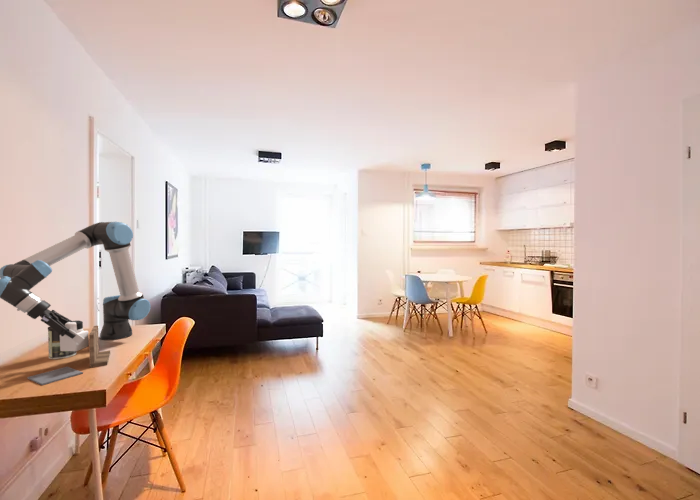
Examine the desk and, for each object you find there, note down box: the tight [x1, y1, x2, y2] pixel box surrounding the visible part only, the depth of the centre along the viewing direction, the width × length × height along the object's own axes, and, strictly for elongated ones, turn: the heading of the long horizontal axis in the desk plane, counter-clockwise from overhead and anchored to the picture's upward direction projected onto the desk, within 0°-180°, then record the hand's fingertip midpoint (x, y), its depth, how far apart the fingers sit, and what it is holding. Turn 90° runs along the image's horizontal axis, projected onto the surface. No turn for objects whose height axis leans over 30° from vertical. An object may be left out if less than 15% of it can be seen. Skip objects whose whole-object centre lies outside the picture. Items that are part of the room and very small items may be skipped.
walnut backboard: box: [88, 325, 111, 368], centre depth 155 cm, size 18×6×14 cm, turn 31°
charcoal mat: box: [26, 366, 84, 386], centre depth 137 cm, size 13×13×1 cm
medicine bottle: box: [60, 320, 89, 352], centre depth 150 cm, size 7×7×12 cm
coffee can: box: [47, 326, 78, 360], centre depth 161 cm, size 10×10×14 cm
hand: (83, 338), depth 152 cm, fingers closed on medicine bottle, 10 cm apart
